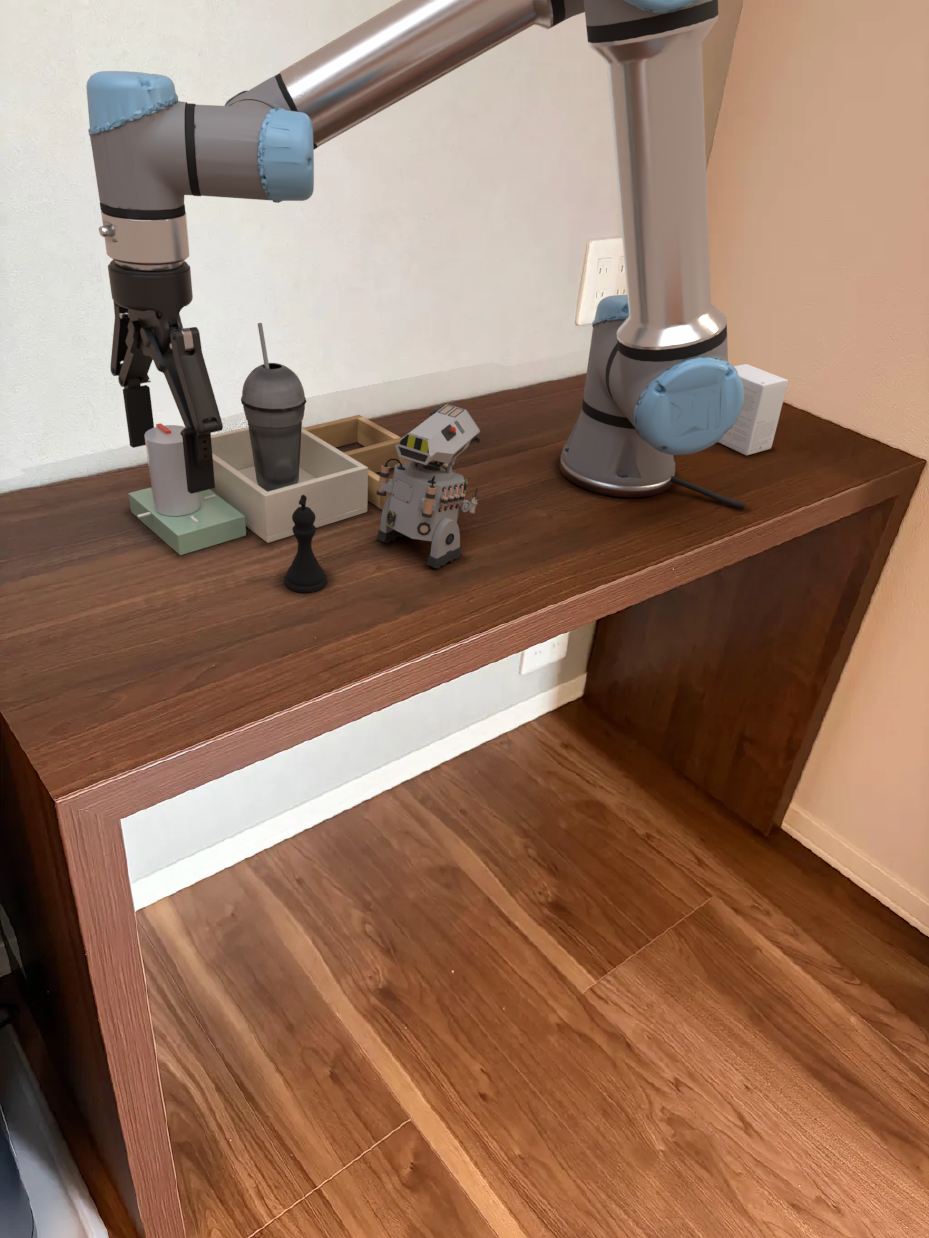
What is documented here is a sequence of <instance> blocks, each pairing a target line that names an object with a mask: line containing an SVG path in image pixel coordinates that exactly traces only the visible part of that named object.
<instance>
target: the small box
mask: <svg viewBox="0 0 929 1238" xmlns="http://www.w3.org/2000/svg"><path fill="white" fill-rule="evenodd" d="M732 366H733V367H734V368H735V369H736V370H737V371H738V375H739V376H740V379H741V381H742V384H743V388H744V402H743V406H742V410H741V412H740V415H739V417H738V419H737V421H736V422H735V424H734V425H733V427H732V428H731V429H729V430H728V431H727V432H726V433H725V434H724V435H723V438H722V439H720V440H719V441H718V442H717V443H719V444H721V445H723V446H725V447H726V448H730V449H731V450H733V451H735V452H738V453H740V454H742V455H744V456H749V455H753V454H757V453H760V452H765V451H768V450H771V449H772V447H773V443H774V440H775V436H776V432H777V428H778V425H779V421H780V420H779V419H780V415H781V411H782V407H783V404H784V399H785V396H786V393H787V392H786V391H787V388H788V384H789V379H787V378H784V377H781V376H779V375H776V374H774V373H772V372H769V371H766V370H763V369H761V368H758V367H755V366H753V365H750V364H748V363H743V364H739V365H732Z"/></svg>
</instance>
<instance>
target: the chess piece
mask: <svg viewBox="0 0 929 1238" xmlns="http://www.w3.org/2000/svg"><path fill="white" fill-rule="evenodd" d="M306 500H307V497H306V496H305V495H301V499H300V500H299V504H300V505H301V507H298V508H297V509H296V510H295V511H294V513H293V515H292V520H293V522H294V524H295V525H294V526H293V529H292V530H293V533H294V535H293V536H294V537H295V539H296V541H297V551H296V555H295V556H294V558H293V560H292V562H291V565H290V566H289V567H288V569H287V571H286V574H285V576H284V579H283V583H284V586H285V587H286V588H287V589H289V590H291V591H292V592H295V593H302V594H307V593H308V594H309V593H315V592H318V591H321V590H322V589H324V588H325V587H326V585H327V584H328V576H327V574H326V573H325V570H324V568H323V567H322V566H321V564H320V563H319V560H317V557H316V556H315V554H314V552H313V546H312V541H313V538H314V536H315V534H316V531H317V528H316V527H315V526H314V525H313V524H314V521H315V518H316V517H315V514H314V512H313V511H312V510H311V509H310V508H309V507H305V506H306Z"/></svg>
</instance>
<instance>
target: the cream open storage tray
mask: <svg viewBox="0 0 929 1238" xmlns="http://www.w3.org/2000/svg"><path fill="white" fill-rule="evenodd" d="M303 428H304V427H302V431H301V447H300V464H299V481H298V483H297V484H294V485H290V486H287V487H283V488H279V489H276V490H272V491H268V492H267V491H266V490H264V489H263V488H261V487H260V486H259V485H258V483H257V480H256V473H255V466H254V460H253V453H252V447H251V440H250V434H249V427H248V426H246V427H242V428H237V429H233V430H228V431H224V432H220V433H214V434H211V444H212V456H213V468H214V481H215V488H212V489H210V490H211V491H213V492H214V493H215V494H217V495H218V496H219V497H221V498H222V499H223V500H225V501H226V502H227V503H228V504H230V505H231V506H232V507H234V508H235V509H236V510H238V511H239V512H240V513H242V514H243V515H244V516H245V524H246V528H247V529H249V530H250V531H251V532H253V534H255V535H256V536H258V537H259V538H261V540H263V541H264V542H266V543H267V544H269V543H273V542H275V541H279V540H282V539H286V538H288V537H291V536H295V535H294V533H293V530H292V529H293V526H294V525H295V524H294V522H293V520H292V515H293V513H294V511H295V510H296V509H297V508H298V507H301V505H300V504H299V500H300V499H301V495H305V496H306V497H307V500H306V506H305V507H309V508H310V509H311V510H312V511H313V512H314V514H315V517H316V518H315V521H314V524H313V525H314V526H315V527H316V529H317V528H322V527H324V526H327V525H330V524H333V523H336V522H340V521H344V520H346V519H350V518H353V517H356V516H359V515H362V514H365V513H368V505H369V504H368V502H369V501H368V467H366V466H365V465H363V464H361V463H360V462H358V461H356V460H355V459H353V458H351V457H350V456H348V455H346V454H345V453H344V451H341V450H340V449H338V448H335V447H333V446H331V445H330V444H328V443H326V442H325V441H323V440H322V439H320V438H318V437H317V436H315V435H313V434H312V433H310V432H308V431H307V430H305V429H303Z"/></svg>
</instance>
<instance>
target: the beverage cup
mask: <svg viewBox="0 0 929 1238" xmlns="http://www.w3.org/2000/svg"><path fill="white" fill-rule="evenodd" d="M257 329H258V335H259V340H260V341H259V342H260V346H261V354H262V359H263V363H262V364H260V365H258V366H256V367H254V369H252V370H251V371H250V373H249V374H248V375H247V377H246V378H245V380H244V382H243V385H242V390H241V392H242V393H241V397H240V402H241V405H242V408H243V412H244V415H245V419H246V421H247V427H249V434H250V440H251V447H252V453H253V460H254V466H255V473H256V480H257V483H258V485H259V486H260V487H261V488H263V489H264V490H266V491H267V492H268V491H272V490H276V489H279V488H283V487H287V486H290V485H294V484H297V483H298V481H299V464H300V447H301V431H302V428H303V419H304V416H305V409H306V403H307V398H306V396H305V395H306V394H305V390H304V386H303V385H302V382H301V379H300V378H299V376H298V375H297V374H296V372H294V371H293V370H292V369H291V368H290V367H288V366H286V365H284V364H281V363H277V362H269V357H268V350H267V345H266V339H265V333H264V328H263V323H262V322H258V323H257Z"/></svg>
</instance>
